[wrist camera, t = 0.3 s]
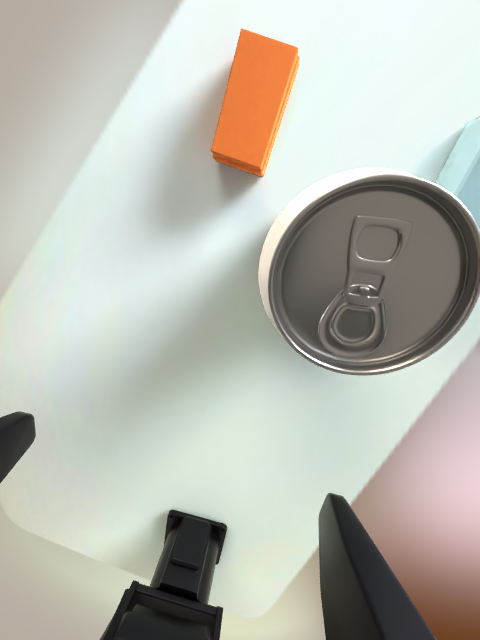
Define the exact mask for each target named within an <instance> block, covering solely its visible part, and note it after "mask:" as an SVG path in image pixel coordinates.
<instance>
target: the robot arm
mask: <svg viewBox="0 0 480 640" xmlns="http://www.w3.org/2000/svg"><path fill="white" fill-rule="evenodd" d="M35 436H36V433H35V422H34V417H33V415H32V414H28V413H25V412H15V413H12V414H9V415H6V416H3V417H1V418H0V483H1V482H2V481H3V479H4V478H5V477H6V476H7V474H8V473H9V472H10V471H11V469H12V468H13V467H14V466H15V464H16V463H17V462H18V461H19V459H20V458H21V457H22V456H23V454H24V453H25V452H26V451H27V449H28V448H29V447H30V446H31V444H32V443H33V441H34V439H35ZM226 531H227V526H226V525H225V524H223V523H219V522H216V521H212V520H208V519H205V518H201V517H197V516H194V515H190V514H187V513H183V512H179V511H176V510H170V511H169V514H168V518H167V526H166V534H165V542H164V548H163V551H162V553H161V556H160V559H159V562H158V564H157V567H156V570H155V573H154V575H153V578H152V581H151V584H150V587H149V586H146V585H142V584H139V582H137V581H133V582H132V584H131V586H130V588H129V589H126V590H125V592H124V594H123V597H122V599H121V601H120V604H119V606H118V608H117V610H116V613H115V614H114V616H113V618H112V620H111V621H110V623H109V625H108V627H107V628H106V630H105V632H104V634H103V635H102V637H101V638H100V640H219V638H220V630H221V621H222V613H223V608H222V607H219V606H217V607H214V606H211V605H208V600H209V595H210V590H211V585H212V580H213V574H214V569H215V565H217V564H218V563H219V559H220V555H221V551H222V547H223V543H224V539H225V535H226ZM319 554H320V555H319V557H320V587H321V599H322V608H323V617H324V626H325V635H326V640H437V639H436V638H435V636H434V635H433V633H432V632H431V630H430V629H429V627H428V625H427V624H426V622H425V621H424V619H423V618H422V617H421V615H420V613H419V612H418V610H417V608H416V607H415V605H414V604H413V602H412V601H411V599H410V598H409V596H408V595H407V593H406V592H405V590H404V589H403V587H402V585H401V584H400V582H399V581H398V579H397V578H396V576H395V575H394V573H393V572H392V570H391V569H390V567H389V565H388V564H387V562H386V561H385V559H384V558H383V556H382V555H381V553H380V552H379V550H378V549H377V547H376V546H375V544H374V542H373V541H372V539H371V538H370V536H369V535H368V533H367V532H366V530H365V529H364V527H363V526H362V524H361V522H360V521H359V519H358V518H357V516H356V515H355V513H354V512H353V510H352V509H351V507H350V506H349V504H348V502H347V501H346V499H345V498H344V497H343V496H340V495H336V494H333V493H328V494H327V496H326V498H325V501H324V503H323V505H322V508H321V510H320V513H319Z"/></svg>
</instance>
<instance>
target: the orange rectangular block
mask: <svg viewBox="0 0 480 640" xmlns="http://www.w3.org/2000/svg"><path fill="white" fill-rule="evenodd" d="M298 66H299V56H298V48H297V47H295V46H292V45H289V44H286V43H283V42H280V41H277V40H274V39H271V38H268V37H265V36H262V35H259V34H256V33H253V32H250V31H248V30H245V29H241V32H240V36H239V40H238V44H237V48H236V52H235V56H234V60H233V64H232V68H231V72H230V76H229V80H228V84H227V88H226V92H225V97H224V101H223V105H222V109H221V113H220V117H219V121H218V125H217V129H216V133H215V137H214V141H213V145H212V149H211V151H212V152H213V158H214V159H215V160H216V161H217V162H220V163H223V164H226V165H229V166H231V167H234V168H237V169H240V170H243V171H246V172H249V173H251V174H254V175H257V176H260V177H263V176H264V173H265V170H266V166H267V163H268V160H269V157H270V154H271V151H272V148H273V145H274V141H275V138H276V135H277V132H278V129H279V126H280V123H281V120H282V116H283V113H284V110H285V107H286V104H287V101H288V98H289V95H290V91H291V88H292V85H293V82H294V79H295V76H296V73H297V70H298Z"/></svg>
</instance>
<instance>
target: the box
mask: <svg viewBox="0 0 480 640" xmlns="http://www.w3.org/2000/svg"><path fill="white" fill-rule="evenodd" d="M435 184H437V185H439V186H441V187H443V188H444V189H446V190H447V191H449V192H450V193H452V194H453V195H454V196H455V197H456V198H458V199H459V200H460V201H461V202H462V203H463V205H464V206H465V207H466V208H467V209H468V211H469V212H470V213H471V215H472V217H473V218H474V220H475V222H476V224H477V226H478V228H479V231H480V116H479V117H478V118H476V119H474V120H472V121H470V122H468V123H467V124H466V125H465V127H464V129H463V131H462V133H461V135H460V137H459V139H458V140H457V142H456V144H455V146H454V148H453V150H452V152H451V153H450V155H449V157H448V159H447V161H446V163H445V165H444V166H443V168H442V170H441V172H440V174H439V176H438V178H437V179H436V181H435Z"/></svg>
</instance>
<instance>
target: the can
mask: <svg viewBox="0 0 480 640" xmlns="http://www.w3.org/2000/svg"><path fill="white" fill-rule="evenodd" d="M258 276H259V289H260V294H261V299H262V302H263V305H264V308H265V310H266V313H267V315H268V317H269V319H270V320H271V322H272V324H273V325H274V326H275V328H276V329H277V330H278V332H279V333H280V334H281V335H282V336H283V337H284V339H285V340H286V341H287V342H288V344H289V345H290V346H291V347H292V348H293V349H294V350H295V351H296V352H297V353H299V354H300V355H301V356H303V357H304V358H305V359H307V360H308V361H310V362H312V363H314V364H316V365H318V366H320V367H322V368H325V369H327V370H330V371H334V372H338V373H342V374H348V375H378V374H384V373H389V372H393V371H397V370H400V369H403V368H406V367H409V366H411V365H413V364H415V363H418V362H420V361H421V360H423V359H425V358H427V357H428V356H430V355H432V354H433V353H435V352H436V351H437V350H439V349H440V348H441V347H442V346H444V345H445V344H446V343H447V342H448V341H449V340H450V339H451V338H452V337H453V336H454V335H455V334H456V333H457V332H458V331H459V330H460V328H461V327H462V326H463V325H464V323H465V322H466V320H467V319H468V317H469V316H470V314H471V312H472V310H473V309H474V307H475V305H476V302H477V300H478V298H479V295H480V231H479V228H478V226H477V224H476V222H475V220H474V218H473V217H472V215H471V213H470V212H469V211H468V209H467V208H466V207H465V206H464V205H463V203H462V202H461V201H460V200H459V199H458V198H456V197H455V196H454V195H453V194H452V193H450V192H449V191H447V190H446V189H444V188H443V187H441V186H439V185H437V184H435V183H433V182H431V181H428V180H425V179H422V178H419V177H415V176H413V175H411V174H408V173H405V172H402V171H398V170H393V169H387V168H360V169H354V170H349V171H345V172H341V173H338V174H335V175H332V176H329V177H327V178H325V179H323V180H321V181H319V182H317V183H315V184H313V185H312V186H310V187H308V188H307V189H306V190H304V191H303V192H302V193H300V194H299V195H298V196H297V197H295V198H294V199H293V200H292V201H291V202H290V203H289V204H288V205H287V206H286V207H285V208H284V209H283V211H282V212H281V213H280V214H279V216H278V217H277V219H276V220H275V222H274V223H273V225H272V227H271V229H270V230H269V233H268V235H267V237H266V239H265V242H264V245H263V248H262V252H261V256H260V262H259V275H258Z"/></svg>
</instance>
